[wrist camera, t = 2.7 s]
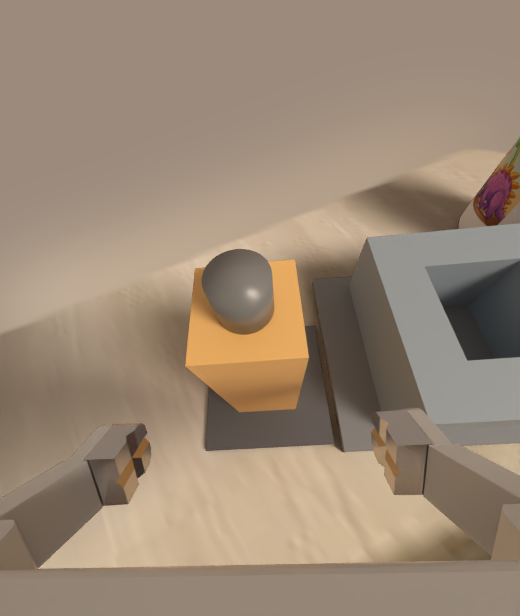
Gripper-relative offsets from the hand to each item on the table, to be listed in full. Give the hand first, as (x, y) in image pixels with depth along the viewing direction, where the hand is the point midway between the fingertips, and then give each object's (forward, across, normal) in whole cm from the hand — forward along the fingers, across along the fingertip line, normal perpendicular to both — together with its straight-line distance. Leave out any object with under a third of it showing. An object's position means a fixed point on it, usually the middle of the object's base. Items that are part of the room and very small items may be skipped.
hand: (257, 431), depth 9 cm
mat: (+10, 0, +4) cm, 11 cm away
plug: (+10, 0, +4) cm, 11 cm away
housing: (+12, -14, +3) cm, 18 cm away
